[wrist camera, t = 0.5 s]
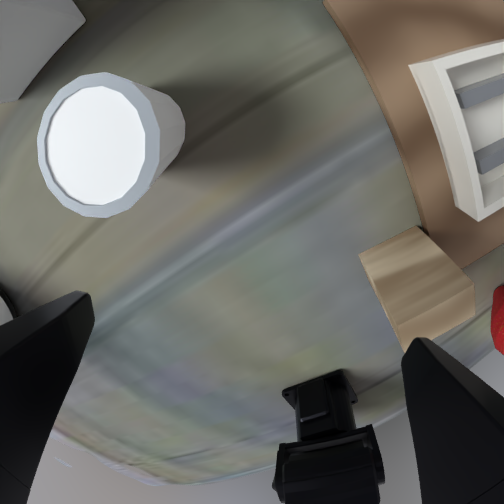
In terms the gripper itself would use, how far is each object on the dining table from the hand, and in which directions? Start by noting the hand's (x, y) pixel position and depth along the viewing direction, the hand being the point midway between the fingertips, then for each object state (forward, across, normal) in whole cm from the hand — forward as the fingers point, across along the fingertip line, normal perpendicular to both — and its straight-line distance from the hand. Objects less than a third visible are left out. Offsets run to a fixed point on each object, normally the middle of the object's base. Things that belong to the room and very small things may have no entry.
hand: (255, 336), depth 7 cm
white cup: (+13, +8, -3) cm, 16 cm away
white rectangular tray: (+12, -15, -10) cm, 22 cm away
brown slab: (+13, -15, -10) cm, 22 cm away
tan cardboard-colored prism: (+13, -10, +3) cm, 17 cm away
